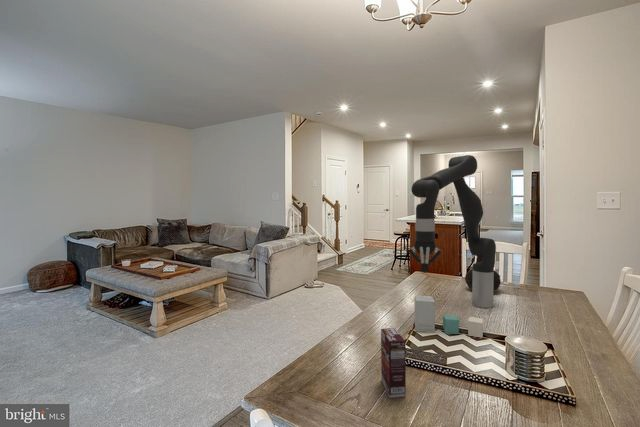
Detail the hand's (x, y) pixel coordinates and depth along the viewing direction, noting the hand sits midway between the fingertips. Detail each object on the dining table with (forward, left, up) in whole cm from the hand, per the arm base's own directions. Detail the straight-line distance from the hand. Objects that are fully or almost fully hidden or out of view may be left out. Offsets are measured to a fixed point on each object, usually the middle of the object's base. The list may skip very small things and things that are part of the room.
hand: (424, 272), depth 132 cm
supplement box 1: (+46, -7, -24) cm, 52 cm away
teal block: (0, +10, -23) cm, 25 cm away
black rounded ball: (-64, +29, -24) cm, 74 cm away
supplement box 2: (0, 0, -24) cm, 24 cm away
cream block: (0, +19, -23) cm, 30 cm away
